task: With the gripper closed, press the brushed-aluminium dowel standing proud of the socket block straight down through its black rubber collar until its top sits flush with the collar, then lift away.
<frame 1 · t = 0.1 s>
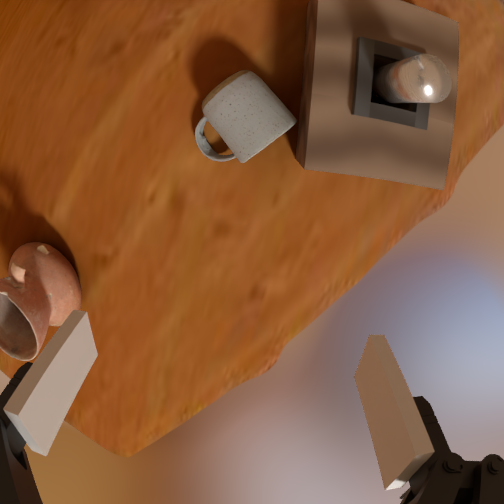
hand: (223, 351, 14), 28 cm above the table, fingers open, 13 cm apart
peg: (408, 81, 23), point 12 cm above the table, slide at 0.0 cm
ceramic mug: (240, 123, 36), on the table
ceramic jug: (52, 279, 46), on the table
socket block: (367, 88, 34), on the table
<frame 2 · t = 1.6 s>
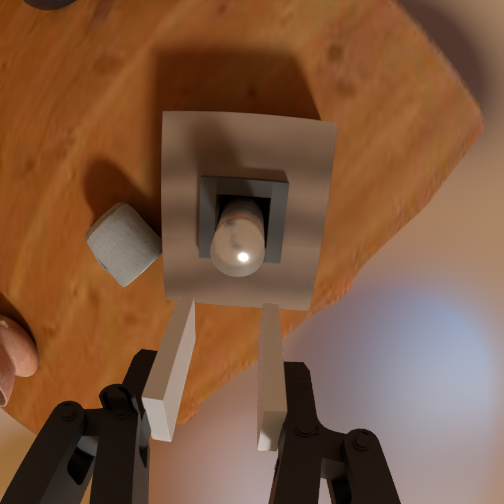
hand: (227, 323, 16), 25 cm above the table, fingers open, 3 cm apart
peg: (240, 232, 28), point 12 cm above the table, slide at 0.0 cm
ceramic mug: (130, 239, 41), on the table
ceramic jug: (17, 339, 50), on the table
socket block: (245, 197, 38), on the table
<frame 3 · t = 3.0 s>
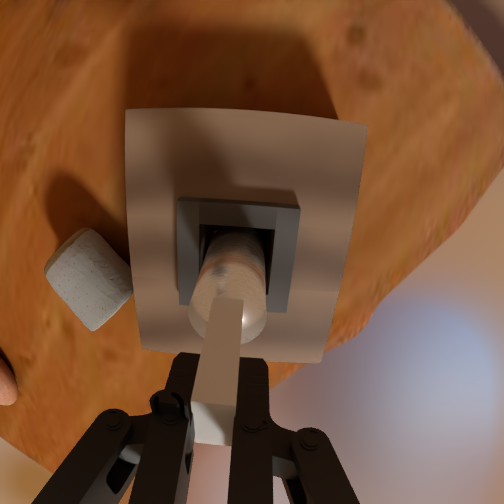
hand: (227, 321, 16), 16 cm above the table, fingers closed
peg: (232, 276, 20), point 11 cm above the table, slide at 0.6 cm, touching gripper
ceramic mug: (100, 268, 33), on the table
socket block: (241, 218, 30), on the table
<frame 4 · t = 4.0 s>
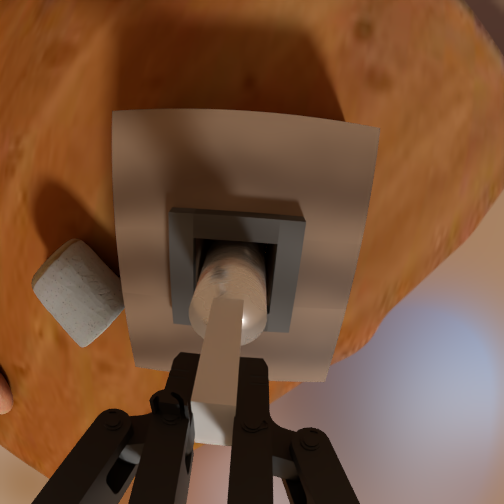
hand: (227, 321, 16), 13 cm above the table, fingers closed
peg: (233, 277, 20), point 9 cm above the table, slide at 2.8 cm, touching gripper
ceramic mug: (91, 280, 31), on the table
socket block: (240, 228, 28), on the table
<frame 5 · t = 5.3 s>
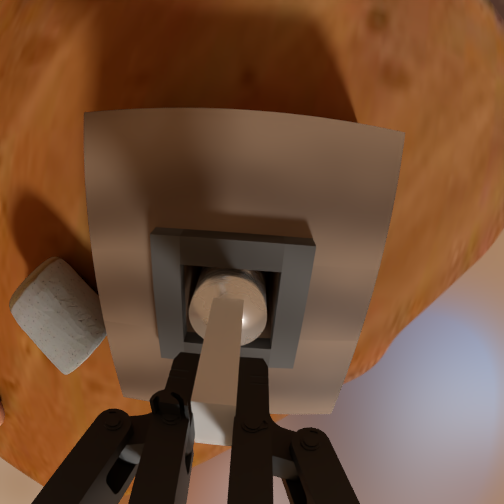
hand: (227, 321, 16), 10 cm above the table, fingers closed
peg: (233, 277, 20), point 5 cm above the table, slide at 6.4 cm, touching gripper
ceramic mug: (74, 300, 28), on the table
socket block: (238, 243, 25), on the table
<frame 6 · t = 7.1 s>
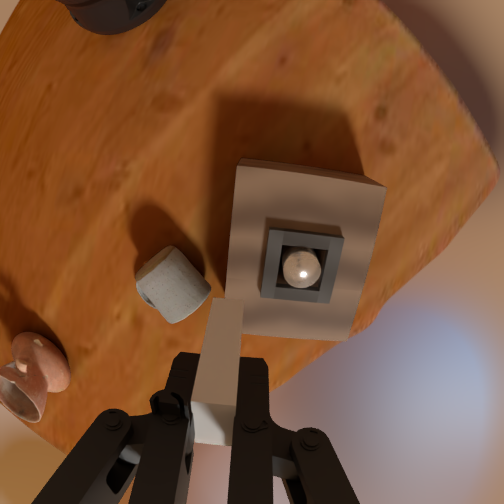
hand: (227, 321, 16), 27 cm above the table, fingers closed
peg: (298, 255, 38), point 5 cm above the table, slide at 6.4 cm
ceramic mug: (172, 276, 46), on the table
ceramic jug: (46, 355, 54), on the table
socket block: (293, 240, 43), on the table
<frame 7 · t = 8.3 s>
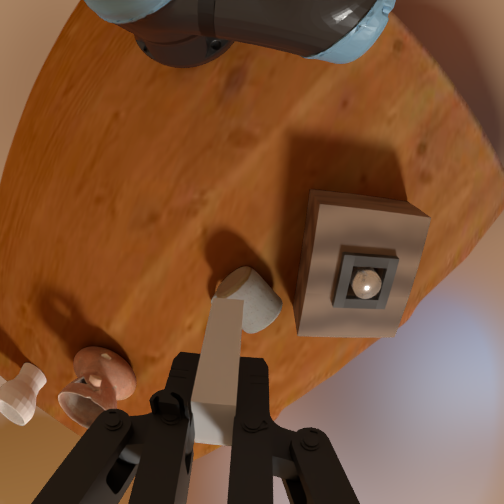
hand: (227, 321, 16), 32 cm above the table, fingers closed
peg: (359, 271, 45), point 5 cm above the table, slide at 6.4 cm
cup: (34, 372, 66), on the table
ceramic mug: (243, 291, 53), on the table
ceramic jug: (108, 366, 62), on the table
socket block: (350, 255, 50), on the table
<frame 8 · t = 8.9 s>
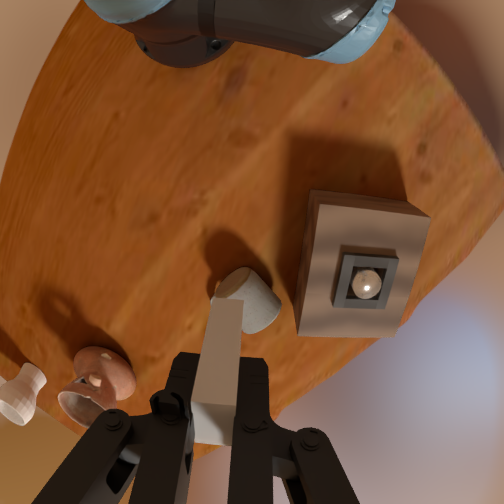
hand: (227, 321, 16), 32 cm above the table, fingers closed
peg: (359, 271, 45), point 5 cm above the table, slide at 6.4 cm
cup: (35, 372, 66), on the table
ceramic mug: (242, 292, 53), on the table
ceramic jug: (108, 366, 62), on the table
socket block: (350, 255, 50), on the table
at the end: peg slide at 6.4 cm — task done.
